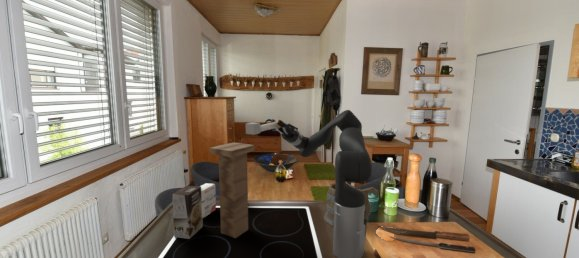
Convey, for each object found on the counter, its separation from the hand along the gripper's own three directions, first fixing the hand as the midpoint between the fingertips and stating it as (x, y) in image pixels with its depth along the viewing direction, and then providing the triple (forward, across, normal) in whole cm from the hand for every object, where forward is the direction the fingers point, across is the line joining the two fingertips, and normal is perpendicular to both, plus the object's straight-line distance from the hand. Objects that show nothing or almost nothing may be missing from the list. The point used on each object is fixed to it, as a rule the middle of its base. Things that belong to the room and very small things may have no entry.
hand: (275, 121), depth 116 cm
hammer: (+5, 0, +6) cm, 8 cm away
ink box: (0, -21, +44) cm, 49 cm away
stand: (+5, 0, +47) cm, 47 cm away
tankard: (-21, +34, +32) cm, 52 cm away
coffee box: (+12, -14, +51) cm, 55 cm away
